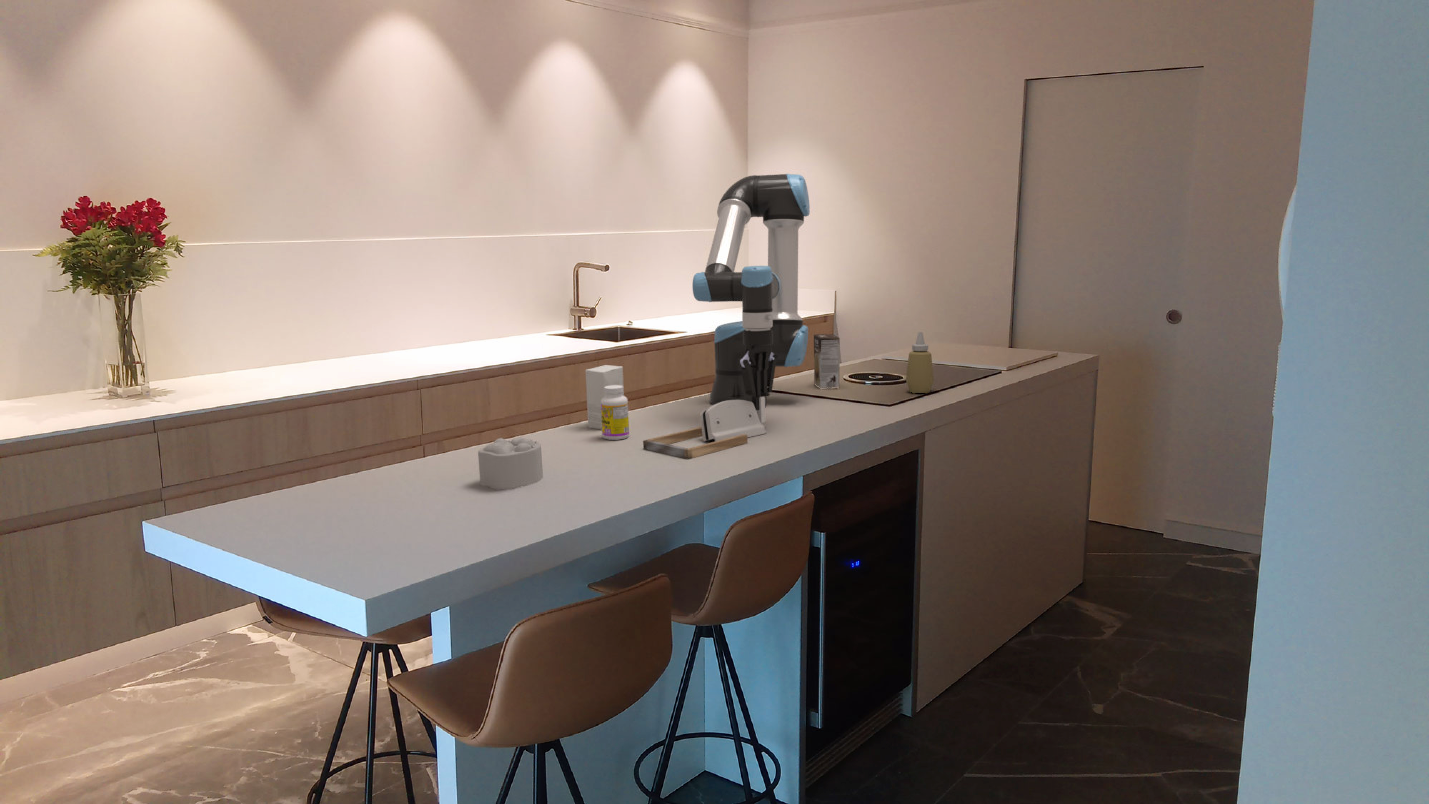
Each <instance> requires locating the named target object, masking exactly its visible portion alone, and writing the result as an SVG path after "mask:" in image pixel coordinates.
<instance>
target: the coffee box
mask: <svg viewBox="0 0 1429 804" xmlns="http://www.w3.org/2000/svg"><path fill="white" fill-rule="evenodd" d="M840 340H841V339H840V337H839V336H836V335H835V334H834V333H831V334H827V333H825V334H824V333H823V334H822V333H819V334H817V333H816V334H813V370H814V372H813V377H814V378H813V379H814V383H815V384H816V385H817V386H819V387H820V388H827V387H828V388H832V387H839V388H840V369H841V367H840V357H841V356H840V355H841V353H840V352H841V351H840V348H841V347H840V342H841V341H840ZM817 386H816V387H817Z"/></svg>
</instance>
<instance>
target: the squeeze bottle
mask: <svg viewBox="0 0 1429 804" xmlns="http://www.w3.org/2000/svg"><path fill="white" fill-rule="evenodd" d="M911 347H912V348H911V351H910V352H909V353H908V358H907V359H908V360H907V366H906V367H907V368H906V377H905V382H906V385H907V389H908V391H909V393H911V392H912V394H915V393H925V394H929V393H930V391H931V389H932V386H933V384H934V381H935V380H934V379H935V378H934V372H933V371H934V370H933V369H934V368H933V358H932V353H931V352H930V351H929V344H927V343H926V344H925V339H924V334H923V332H918V333H917V337H916V341H915V344H912V345H911Z"/></svg>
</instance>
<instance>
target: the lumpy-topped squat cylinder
mask: <svg viewBox="0 0 1429 804" xmlns="http://www.w3.org/2000/svg"><path fill="white" fill-rule="evenodd" d="M477 453H478V454H477V455H478V457H477V459H478V468H479V471H478V474H479V485H480V486H482V487H486V486H490V487H489V488H491V487H492V488H491V489H494V490H497V489H504V490H503V491H505V489H509V490H514V489H518V487H519V488H522V487H521V486H523V487H527V486H530V485H533V484H535V483H536V484H537V483H538V482H540V481H541V480H542V479H543V478H544V474H543V473H544V472H543V471H544V470H543V457H542V456H543V455H542V444H541V443H540V442H539V441H537V440H536V441H535V440H533V439H531V438H524V437H522V436H521V437H519V436H518V437H515V438H514V437H513V439H512V440H507V439H506V438H501V437H499V438H497V439H495V440H494V441H493V443H489V444H486V446H485V447H482V448H480V449H479V450H478V452H477ZM529 484H530V485H529Z"/></svg>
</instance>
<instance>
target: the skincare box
mask: <svg viewBox="0 0 1429 804" xmlns="http://www.w3.org/2000/svg"><path fill="white" fill-rule="evenodd" d="M610 385H621V386H623V390H625V389H624V367H623V366H621V365H619V366H618V365H609V364H604V365H601V366H595V367H593V368H588V369H587V368H586V369H585V386H586V389H585V390H586V406H587V407H586V408H587V425H588V428H589V429H595V430H601V431H602V415H601V400H602V398H603V397H605V392H604V387H605V386H610ZM624 393H625V391H623V396H625V394H624Z"/></svg>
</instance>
